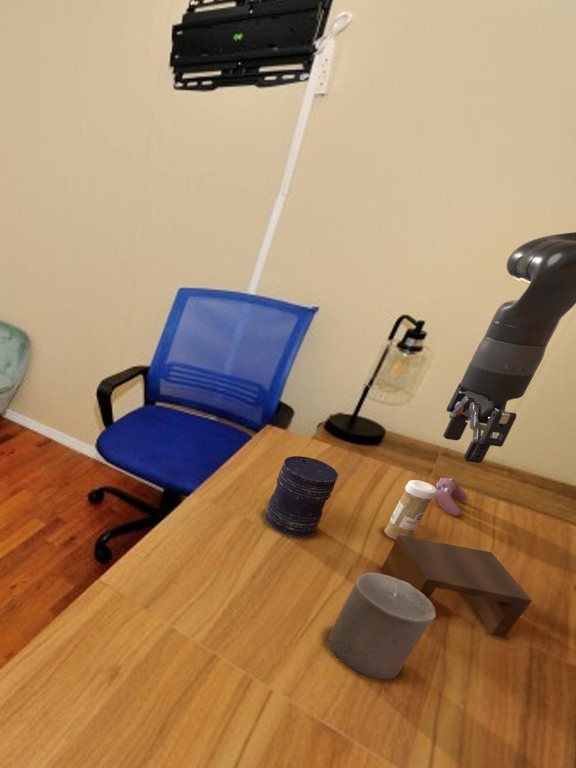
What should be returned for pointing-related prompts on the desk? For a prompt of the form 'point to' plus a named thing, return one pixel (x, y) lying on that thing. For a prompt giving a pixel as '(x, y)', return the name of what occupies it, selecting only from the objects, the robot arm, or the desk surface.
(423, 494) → the sprinkles bottle
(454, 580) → the shelf
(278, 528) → the navy ridged cylinder
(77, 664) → the desk surface
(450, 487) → the video game controller
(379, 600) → the pillar candle
